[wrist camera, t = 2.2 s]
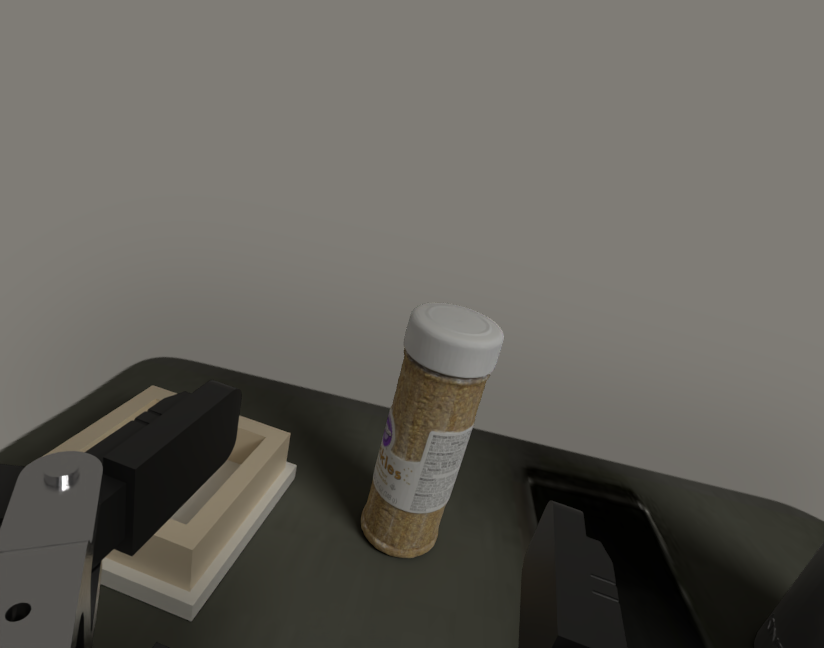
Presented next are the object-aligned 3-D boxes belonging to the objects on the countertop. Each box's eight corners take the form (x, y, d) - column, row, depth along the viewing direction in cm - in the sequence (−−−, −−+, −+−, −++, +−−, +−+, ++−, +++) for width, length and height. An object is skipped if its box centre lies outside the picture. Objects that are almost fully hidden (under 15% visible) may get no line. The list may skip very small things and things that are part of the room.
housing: (294, 478, 31) (302, 431, 30) (191, 621, 22) (195, 563, 21) (150, 425, 32) (151, 378, 31) (-4, 540, 23) (-12, 481, 22)
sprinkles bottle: (349, 506, 30) (396, 296, 25) (417, 495, 32) (475, 300, 27) (376, 571, 26) (438, 341, 21) (451, 554, 28) (525, 342, 23)
